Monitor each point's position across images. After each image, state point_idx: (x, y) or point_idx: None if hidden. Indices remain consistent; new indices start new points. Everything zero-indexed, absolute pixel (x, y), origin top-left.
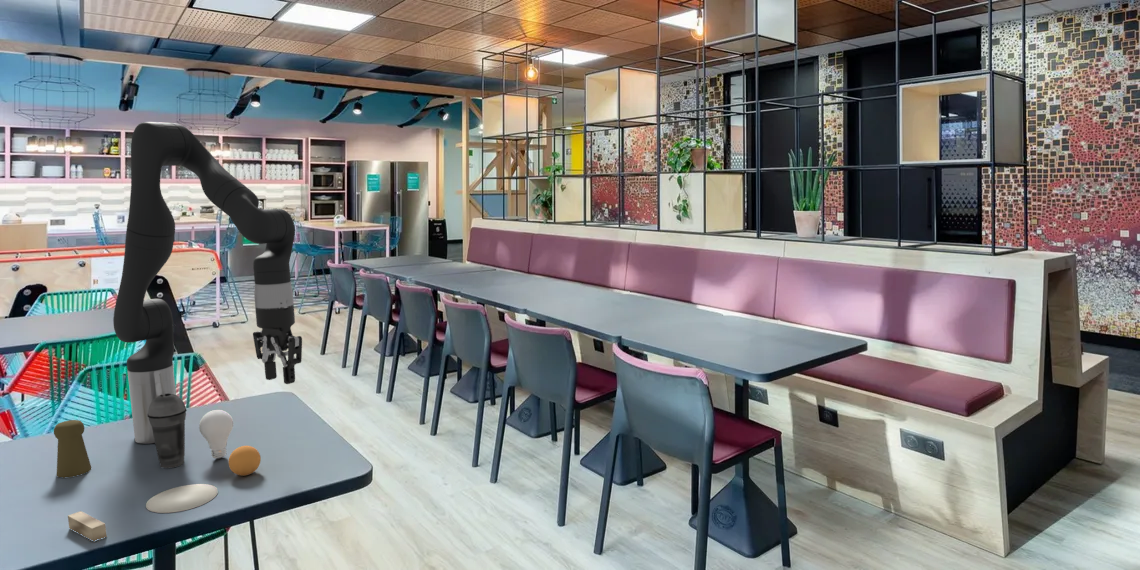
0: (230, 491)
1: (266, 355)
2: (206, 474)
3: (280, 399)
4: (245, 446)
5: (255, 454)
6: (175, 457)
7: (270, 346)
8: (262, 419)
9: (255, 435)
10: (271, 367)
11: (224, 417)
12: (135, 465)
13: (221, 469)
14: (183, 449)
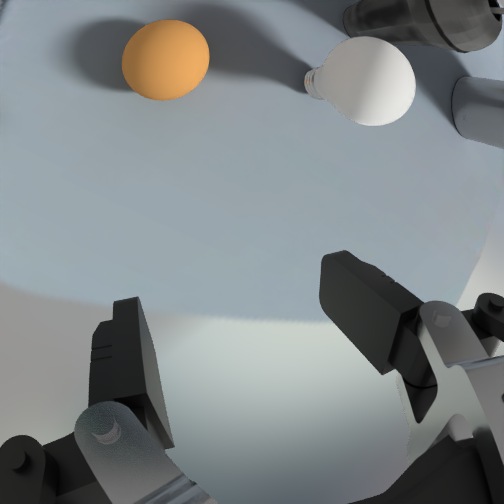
0: (97, 6)
1: (445, 367)
2: (248, 16)
3: None
4: (166, 55)
5: (129, 74)
6: (354, 12)
7: (458, 492)
8: (411, 256)
9: (366, 208)
10: (367, 325)
11: (359, 83)
12: None
13: (248, 48)
14: (366, 29)
